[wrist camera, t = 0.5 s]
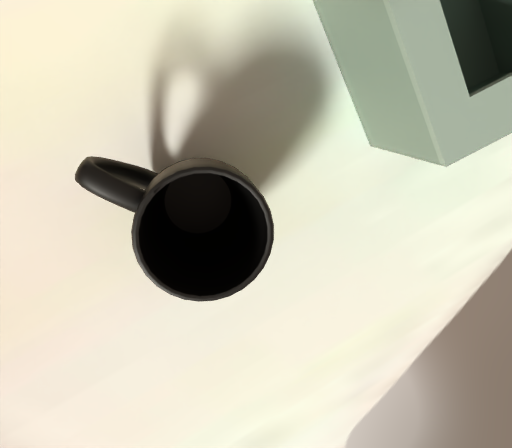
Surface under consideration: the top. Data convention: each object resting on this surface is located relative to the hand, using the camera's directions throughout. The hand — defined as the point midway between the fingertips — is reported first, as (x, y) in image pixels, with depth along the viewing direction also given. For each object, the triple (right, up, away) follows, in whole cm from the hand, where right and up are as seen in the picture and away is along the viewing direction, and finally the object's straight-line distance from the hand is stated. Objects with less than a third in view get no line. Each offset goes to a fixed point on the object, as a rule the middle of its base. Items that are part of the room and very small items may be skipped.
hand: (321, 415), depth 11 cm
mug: (-8, +7, +25) cm, 27 cm away
